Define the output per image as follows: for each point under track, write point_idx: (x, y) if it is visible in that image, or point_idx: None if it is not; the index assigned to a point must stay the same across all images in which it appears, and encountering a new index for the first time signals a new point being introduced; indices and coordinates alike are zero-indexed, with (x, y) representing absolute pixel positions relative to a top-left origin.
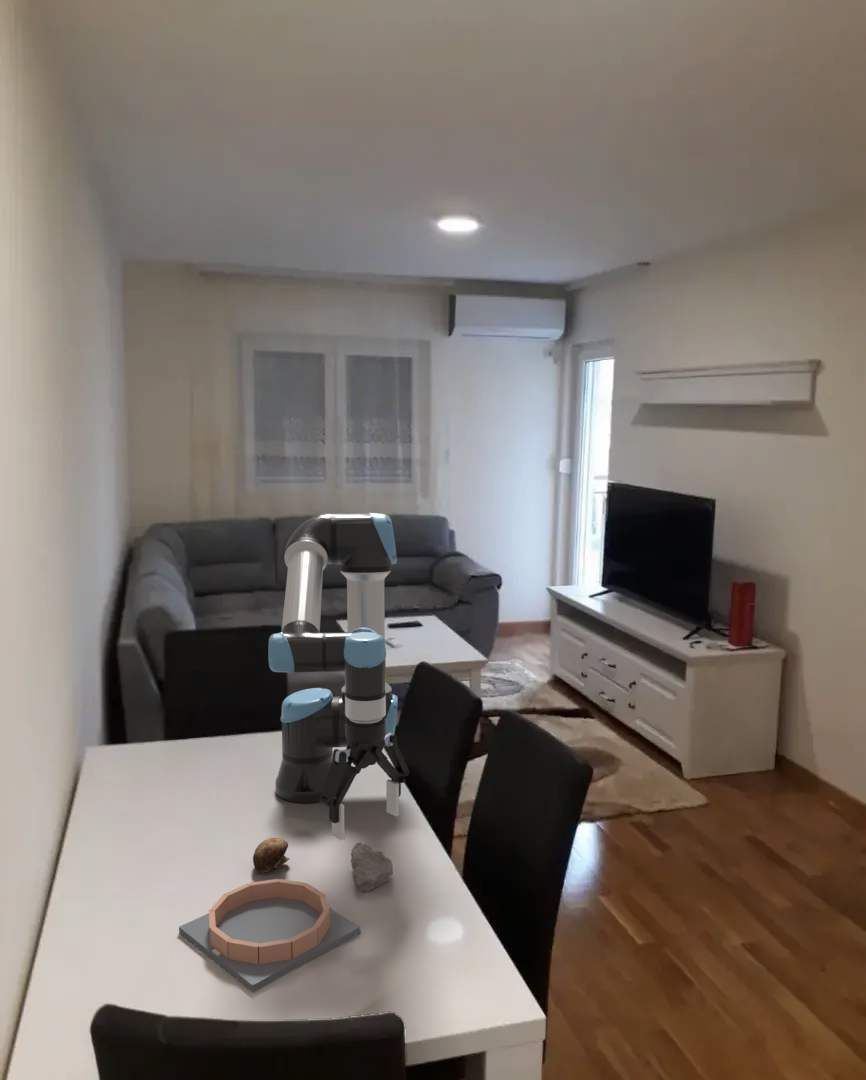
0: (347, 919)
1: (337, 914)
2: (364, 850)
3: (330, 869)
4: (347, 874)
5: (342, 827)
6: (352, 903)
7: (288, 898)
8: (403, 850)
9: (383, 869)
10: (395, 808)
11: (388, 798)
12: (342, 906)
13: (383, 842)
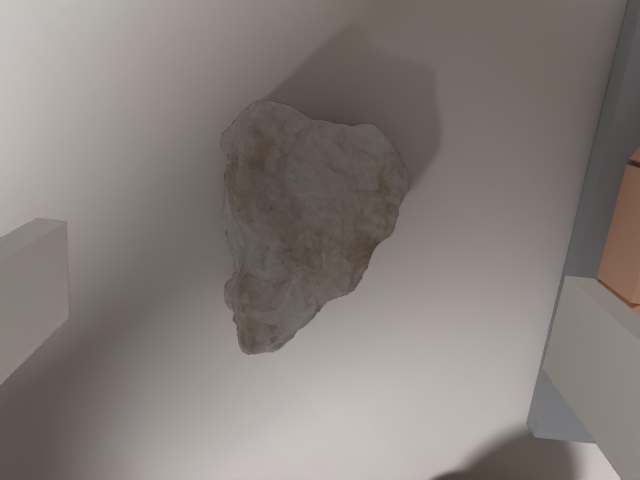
0: (637, 32)
1: (628, 95)
2: (285, 273)
3: (338, 371)
4: None
5: (627, 315)
6: (477, 135)
7: None
8: None
9: (302, 122)
10: (36, 246)
11: (8, 353)
12: (518, 152)
13: (41, 353)
